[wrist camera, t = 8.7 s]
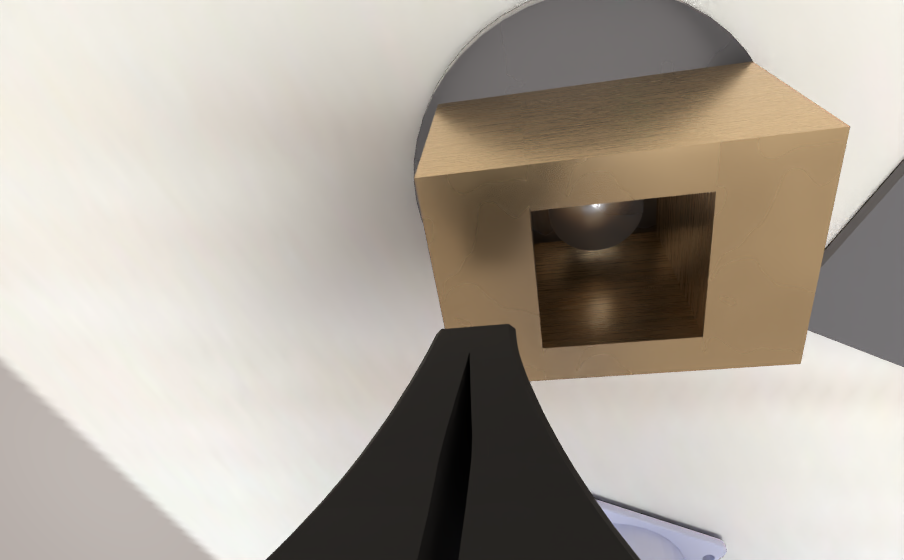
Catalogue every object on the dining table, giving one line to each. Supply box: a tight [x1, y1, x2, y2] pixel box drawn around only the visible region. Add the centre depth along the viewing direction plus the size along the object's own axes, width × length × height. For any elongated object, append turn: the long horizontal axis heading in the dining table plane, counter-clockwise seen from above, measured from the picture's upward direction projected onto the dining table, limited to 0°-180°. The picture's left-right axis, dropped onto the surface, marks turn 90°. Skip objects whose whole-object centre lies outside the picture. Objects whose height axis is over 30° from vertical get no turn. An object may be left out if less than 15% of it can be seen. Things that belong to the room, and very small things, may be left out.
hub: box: [414, 0, 753, 251], centre depth 16 cm, size 10×10×3 cm
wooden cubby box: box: [414, 61, 850, 381], centre depth 15 cm, size 6×8×5 cm
